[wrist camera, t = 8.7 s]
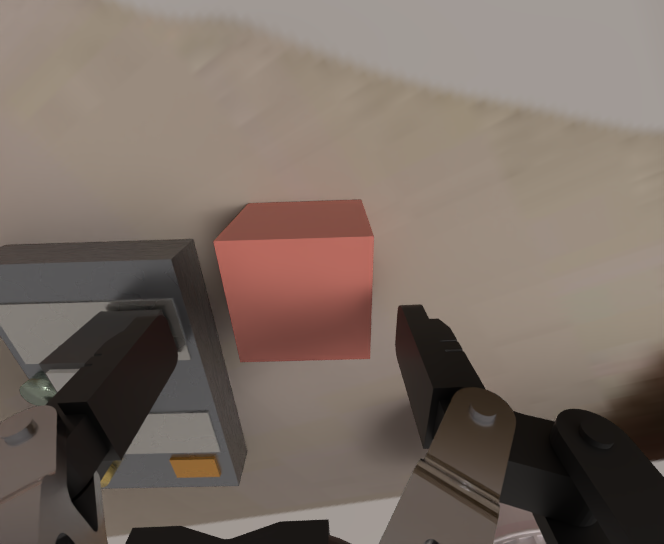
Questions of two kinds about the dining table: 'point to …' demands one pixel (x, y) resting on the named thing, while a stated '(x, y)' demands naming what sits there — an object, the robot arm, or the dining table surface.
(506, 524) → the smoothie
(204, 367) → the panel
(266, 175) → the dining table surface
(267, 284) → the salmon pink cube
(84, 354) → the toggle
